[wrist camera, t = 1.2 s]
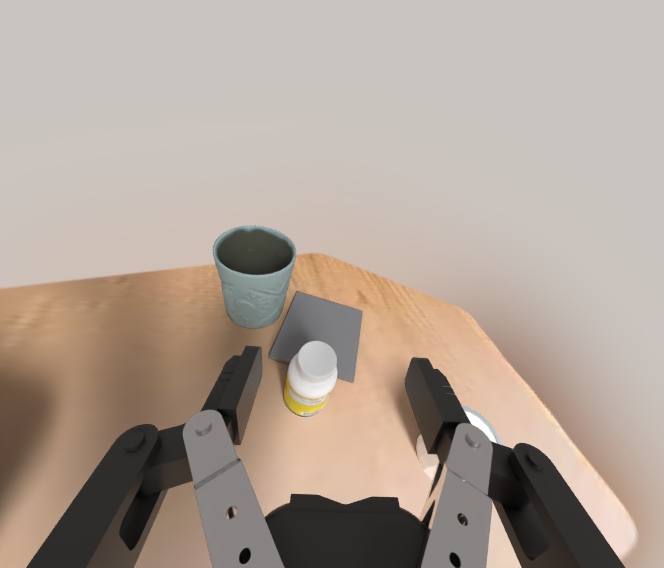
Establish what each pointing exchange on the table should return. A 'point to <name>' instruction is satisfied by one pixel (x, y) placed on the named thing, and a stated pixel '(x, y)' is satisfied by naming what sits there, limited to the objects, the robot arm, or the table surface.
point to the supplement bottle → (310, 379)
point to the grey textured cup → (254, 273)
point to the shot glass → (432, 460)
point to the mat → (320, 331)
